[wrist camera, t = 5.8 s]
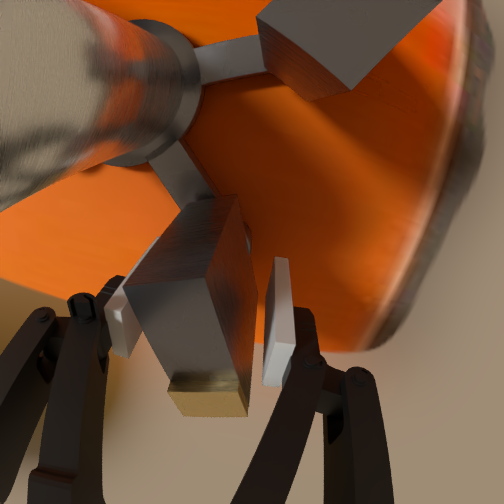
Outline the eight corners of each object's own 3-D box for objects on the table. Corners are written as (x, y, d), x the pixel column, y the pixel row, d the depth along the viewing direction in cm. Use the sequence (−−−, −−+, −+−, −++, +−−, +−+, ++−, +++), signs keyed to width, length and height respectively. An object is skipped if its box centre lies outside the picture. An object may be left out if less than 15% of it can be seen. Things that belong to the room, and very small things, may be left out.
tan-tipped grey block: (194, 193, 19) (112, 297, 9) (241, 185, 18) (203, 288, 8) (218, 283, 22) (182, 416, 12) (260, 277, 22) (250, 417, 11)
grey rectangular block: (304, 104, 16) (361, 91, 6) (263, 71, 15) (251, 6, 5) (373, 34, 13) (482, -27, 3) (334, 2, 12) (402, -96, 2)
